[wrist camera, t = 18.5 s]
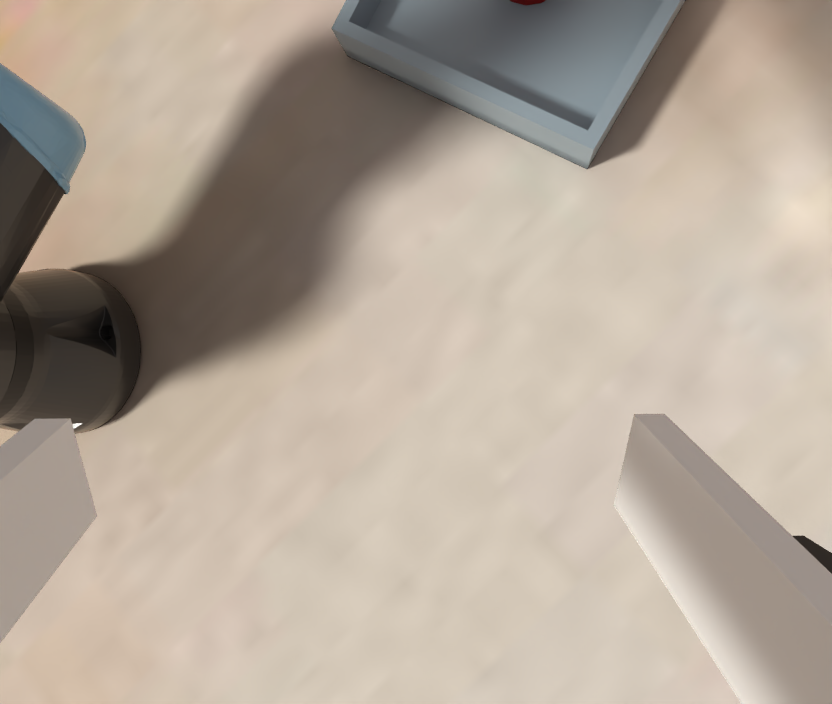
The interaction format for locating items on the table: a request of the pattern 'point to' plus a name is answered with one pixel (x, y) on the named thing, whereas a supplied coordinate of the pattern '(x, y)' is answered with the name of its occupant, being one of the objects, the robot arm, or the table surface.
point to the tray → (516, 59)
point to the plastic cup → (527, 1)
